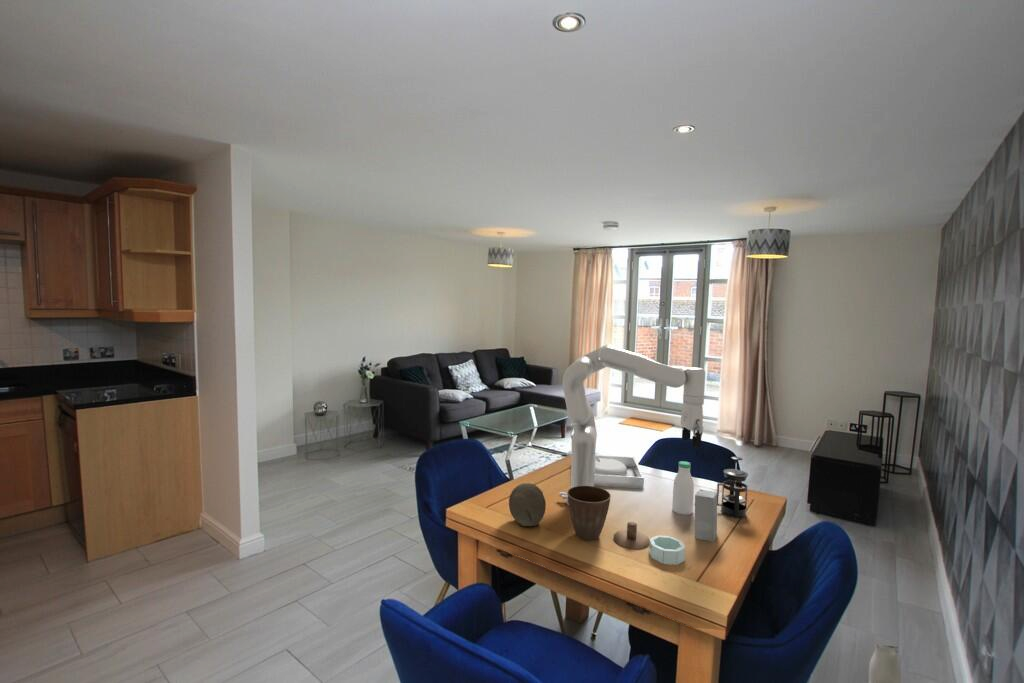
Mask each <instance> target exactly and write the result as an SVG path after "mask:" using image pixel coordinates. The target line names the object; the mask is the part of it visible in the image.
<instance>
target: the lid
mask: <svg viewBox="0 0 1024 683" xmlns="http://www.w3.org/2000/svg"><path fill="white" fill-rule="evenodd" d="M637 530H638V524H637V523H636V522H634V521H629V522H627V526H626V529H622V530H618V531H616V532H615V533H614V534H613V541H614V542H615V543H616V544H617V545H618V546H620V547H623V548H627V549H632V550H641V549H645V548H647V547H648V546H649V543H650V538H649V536H648V535H646V534H644V533H642V532H639V531H637Z"/></svg>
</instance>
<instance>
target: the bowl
mask: <svg viewBox="0 0 1024 683" xmlns="http://www.w3.org/2000/svg"><path fill="white" fill-rule="evenodd" d="M649 540H650V542H649V548H648V554H649V555H650V558H651V559H653V560H655V561H657V562H658V563H661V564H662V563H663V565H672V564H673V565H677V566H678V565H679V564H682V563H683V562H685V559H686V558H685V557H686V546H685V544H684V541H682V540H680V539H678V538H675V537H674V536H669V535H660V534H659V535H658V534H657V535H655V536H653V537H651V538H649Z"/></svg>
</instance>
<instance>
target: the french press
mask: <svg viewBox="0 0 1024 683" xmlns="http://www.w3.org/2000/svg"><path fill="white" fill-rule="evenodd" d="M730 459H732V460H734V463H735V468H727V469H724V470H723V474H724V475H723V476H724V478H725V479H727V480H724V481H723V482H717V485H716V486H717V487H716V492H717V507H721V509H720V513H721V514H723V516H726V517H729V518H733V519H745V518H746V517H747V503H748V485H747V484H746V483H744V482H745V481H746V479H747V477H749V473H748V472H746V471H744V470H740V469H737V466H738V465H737V464H738V463H739V462H738V461H742V460H743V458H742V457H739V456H731V457H730ZM720 486H722V491H721V503H719V497H720V496H719V493H720ZM737 486H740V487H742V488H737ZM725 490H727V491H729V494H724V493H725ZM744 492H745V495H744V497H743V496H741V493H744Z"/></svg>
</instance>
